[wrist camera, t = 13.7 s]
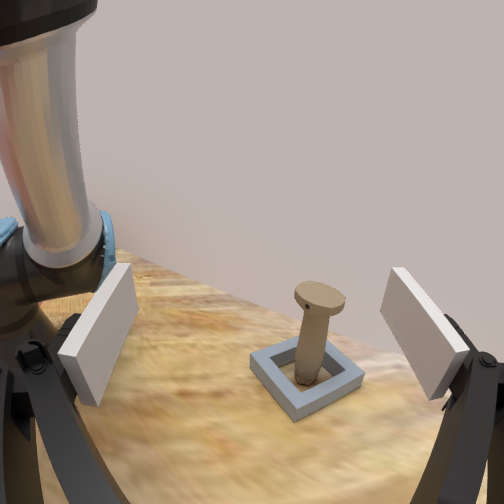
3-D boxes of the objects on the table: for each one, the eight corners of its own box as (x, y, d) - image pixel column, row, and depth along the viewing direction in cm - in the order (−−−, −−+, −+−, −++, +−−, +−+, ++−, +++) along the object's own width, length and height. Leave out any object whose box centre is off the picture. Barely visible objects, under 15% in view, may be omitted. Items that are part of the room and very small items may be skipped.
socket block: (249, 367, 46) (250, 353, 44) (312, 343, 51) (314, 329, 50) (294, 422, 36) (297, 409, 35) (360, 386, 41) (365, 372, 40)
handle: (299, 360, 47) (311, 277, 41) (331, 381, 43) (352, 296, 37) (278, 375, 44) (287, 290, 38) (311, 398, 40) (330, 312, 34)
